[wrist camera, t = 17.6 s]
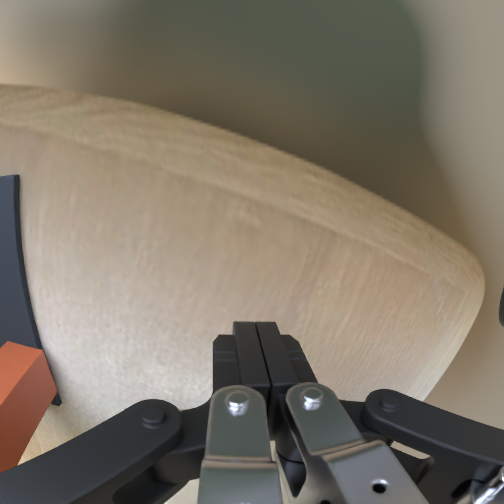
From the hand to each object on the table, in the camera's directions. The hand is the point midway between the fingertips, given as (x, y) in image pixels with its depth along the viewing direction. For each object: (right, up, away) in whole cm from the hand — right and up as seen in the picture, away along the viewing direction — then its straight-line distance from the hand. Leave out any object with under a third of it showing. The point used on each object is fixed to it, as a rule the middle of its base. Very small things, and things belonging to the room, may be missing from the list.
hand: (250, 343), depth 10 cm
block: (-17, -5, +5) cm, 18 cm away
